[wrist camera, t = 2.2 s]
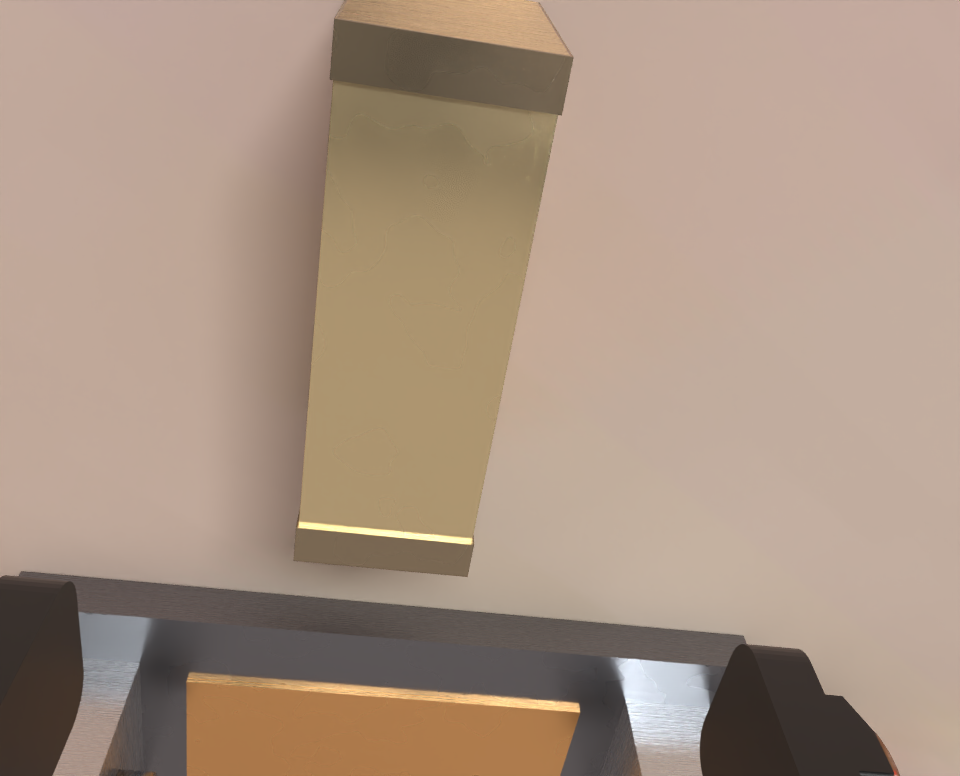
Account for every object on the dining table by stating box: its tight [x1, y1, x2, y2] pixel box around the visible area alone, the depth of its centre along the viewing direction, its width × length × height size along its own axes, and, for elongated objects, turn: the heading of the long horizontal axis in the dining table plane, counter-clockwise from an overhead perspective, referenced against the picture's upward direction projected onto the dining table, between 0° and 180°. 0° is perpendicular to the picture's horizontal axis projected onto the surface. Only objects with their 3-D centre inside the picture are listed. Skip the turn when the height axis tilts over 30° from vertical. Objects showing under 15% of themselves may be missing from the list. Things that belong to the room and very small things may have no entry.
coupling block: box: [294, 0, 573, 577], centre depth 21 cm, size 12×4×6 cm, turn 171°
